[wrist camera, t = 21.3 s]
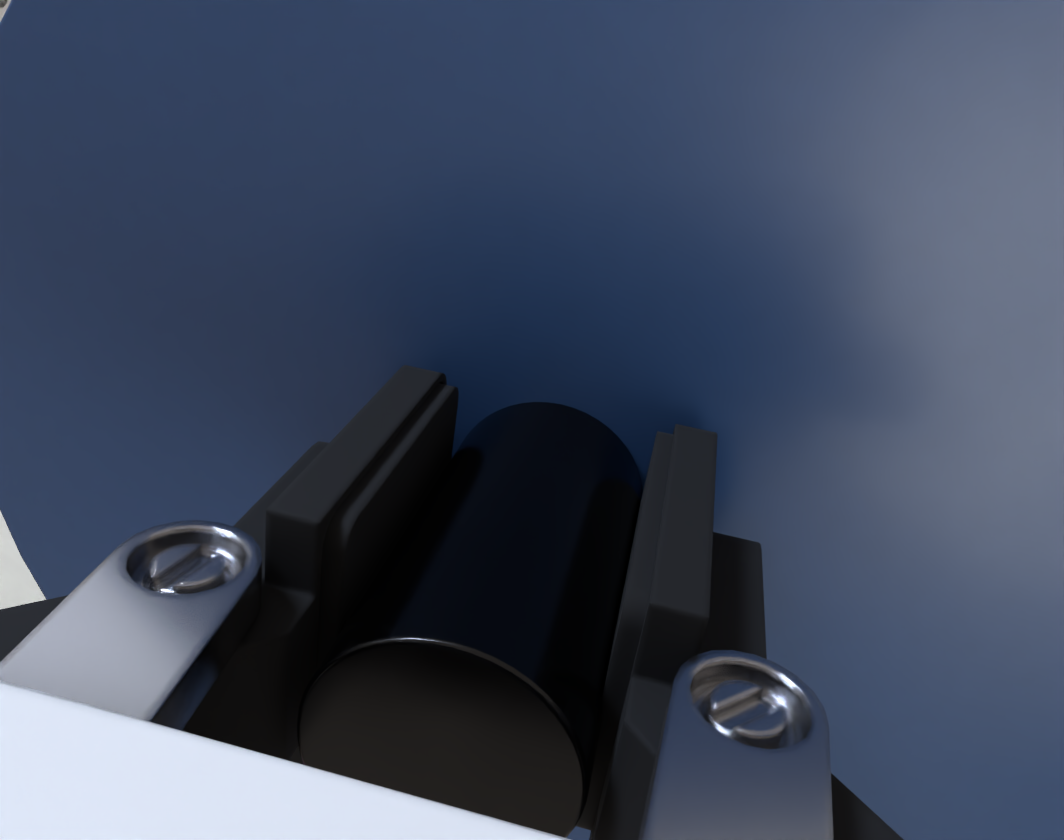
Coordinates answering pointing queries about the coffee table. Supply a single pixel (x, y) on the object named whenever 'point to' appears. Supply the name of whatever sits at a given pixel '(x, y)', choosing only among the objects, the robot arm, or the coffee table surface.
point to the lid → (572, 350)
